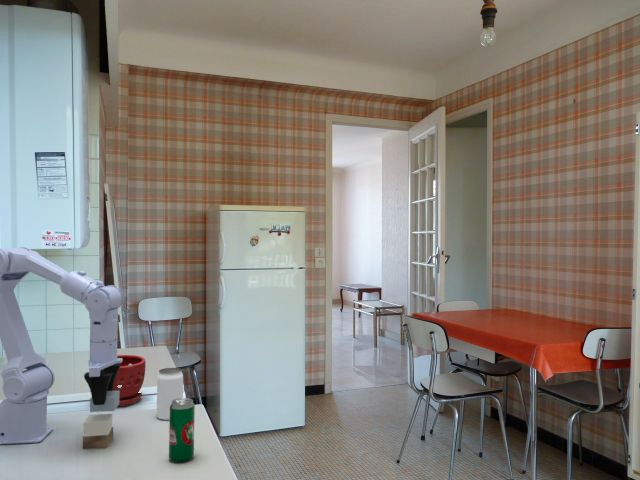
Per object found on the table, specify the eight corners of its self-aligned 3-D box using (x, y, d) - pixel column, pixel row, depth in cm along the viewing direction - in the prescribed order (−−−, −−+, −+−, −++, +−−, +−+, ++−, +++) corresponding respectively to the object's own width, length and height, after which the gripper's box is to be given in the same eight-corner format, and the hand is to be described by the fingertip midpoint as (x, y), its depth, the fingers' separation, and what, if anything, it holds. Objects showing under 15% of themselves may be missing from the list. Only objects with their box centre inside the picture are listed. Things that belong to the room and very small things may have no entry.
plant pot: (84, 406, 135) (84, 362, 135) (120, 392, 147) (121, 352, 147) (120, 412, 130) (121, 367, 130) (154, 398, 142) (155, 357, 142)
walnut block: (82, 450, 107) (82, 436, 107) (90, 440, 112) (90, 427, 112) (106, 449, 107) (106, 435, 107) (113, 440, 112) (113, 426, 112)
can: (175, 421, 124) (175, 374, 124) (151, 419, 125) (152, 372, 125) (187, 413, 130) (187, 367, 130) (164, 411, 131) (165, 366, 131)
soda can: (167, 455, 104) (168, 398, 104) (191, 451, 106) (192, 396, 106) (170, 465, 99) (171, 406, 99) (195, 461, 101) (196, 403, 101)
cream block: (83, 436, 106) (83, 422, 106) (88, 428, 111) (89, 415, 111) (108, 434, 108) (108, 421, 108) (112, 426, 112) (112, 413, 112)
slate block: (90, 411, 108) (90, 398, 108) (96, 404, 113) (96, 391, 113) (114, 411, 109) (114, 397, 109) (119, 403, 113) (119, 390, 113)
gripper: (114, 346, 104) (113, 410, 104) (129, 333, 118) (128, 390, 118) (79, 347, 103) (77, 411, 103) (98, 334, 117) (97, 391, 117)
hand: (102, 400), depth 110 cm, fingers closed on slate block, 5 cm apart
